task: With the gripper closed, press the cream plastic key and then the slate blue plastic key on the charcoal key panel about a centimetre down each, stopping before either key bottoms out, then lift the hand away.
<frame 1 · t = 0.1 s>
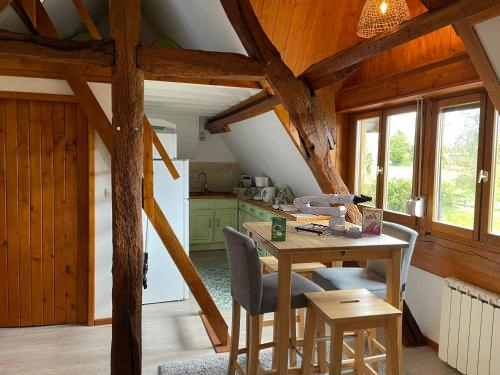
hand: (369, 199, 233), 22 cm above the table, tool horizontal, fingers open, 7 cm apart
cream key: (339, 227, 229), point 5 cm above the table, slide at 0.0 cm
key panel: (346, 238, 227), on the table
coffee box: (278, 240, 218), on the table
candy bar box: (371, 236, 234), on the table
slate blue key: (354, 230, 223), point 5 cm above the table, slide at 0.0 cm
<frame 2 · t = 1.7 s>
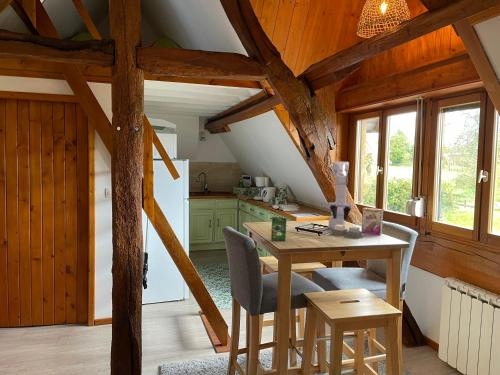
hand: (340, 219, 228), 10 cm above the table, tool pointing down, fingers open, 6 cm apart
nothing on the table moved.
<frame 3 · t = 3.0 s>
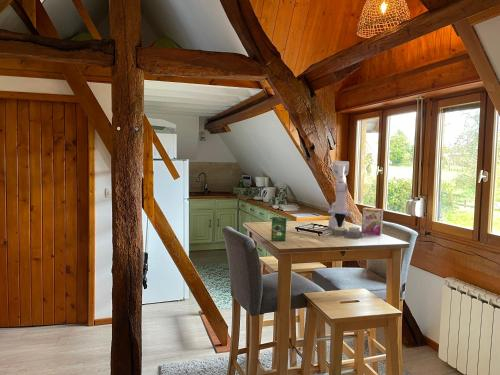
hand: (339, 226, 229), 6 cm above the table, tool pointing down, fingers closed, pressing on cream key
cream key: (339, 229, 229), point 5 cm above the table, slide at 0.8 cm, touching gripper
everything else where it was.
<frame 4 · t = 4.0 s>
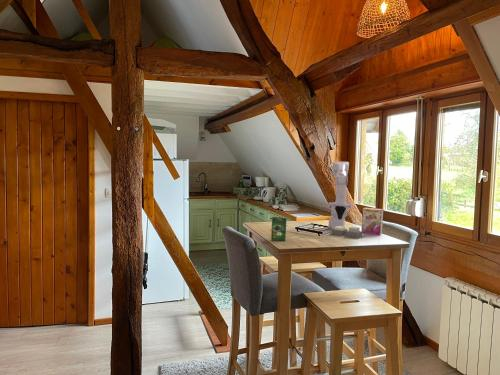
hand: (340, 219, 228), 10 cm above the table, tool pointing down, fingers closed
cream key: (339, 229, 229), point 4 cm above the table, slide at 0.9 cm
everything else where it was.
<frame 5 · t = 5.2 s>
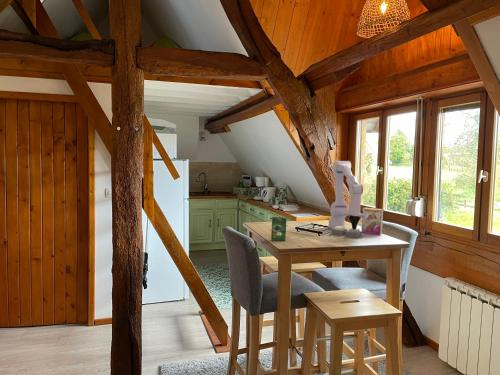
hand: (354, 229, 223), 6 cm above the table, tool pointing down, fingers closed, pressing on slate blue key
slate blue key: (354, 231, 223), point 4 cm above the table, slide at 0.9 cm, touching gripper
everything else where it was.
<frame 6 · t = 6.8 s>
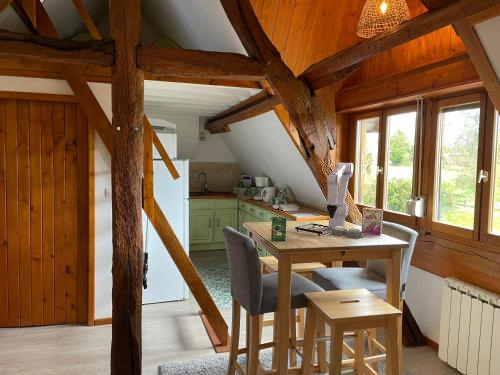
hand: (331, 218, 233), 10 cm above the table, tool pointing down, fingers closed
slate blue key: (354, 231, 223), point 4 cm above the table, slide at 0.9 cm
everything else where it was.
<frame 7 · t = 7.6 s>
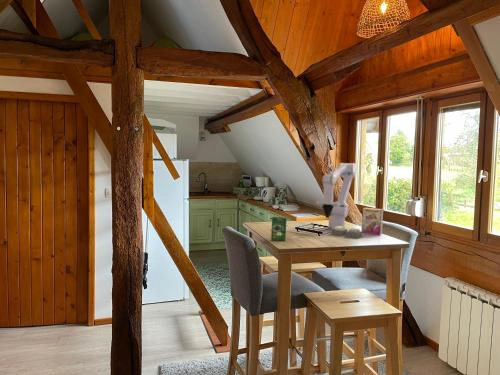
hand: (327, 217, 234), 10 cm above the table, tool pointing down, fingers closed
nothing on the table moved.
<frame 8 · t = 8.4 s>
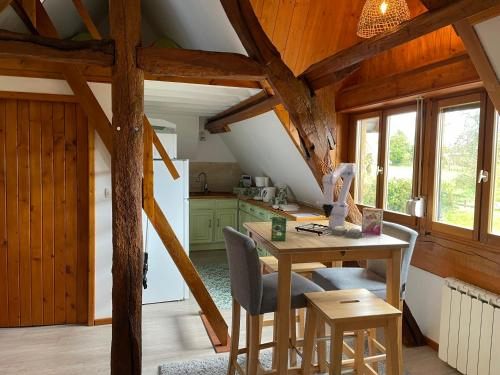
hand: (327, 217, 234), 10 cm above the table, tool pointing down, fingers closed
nothing on the table moved.
at the end: cream key slide at 0.9 cm; slate blue key slide at 0.9 cm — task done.
